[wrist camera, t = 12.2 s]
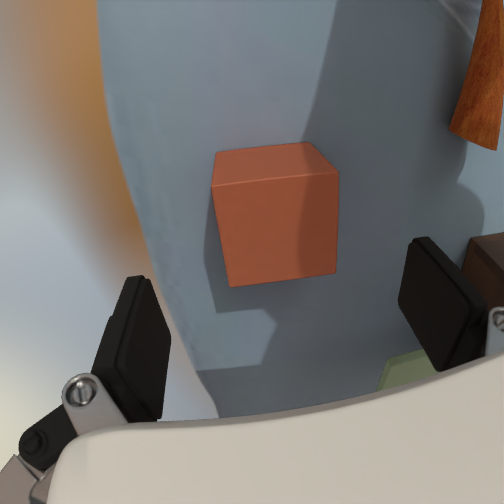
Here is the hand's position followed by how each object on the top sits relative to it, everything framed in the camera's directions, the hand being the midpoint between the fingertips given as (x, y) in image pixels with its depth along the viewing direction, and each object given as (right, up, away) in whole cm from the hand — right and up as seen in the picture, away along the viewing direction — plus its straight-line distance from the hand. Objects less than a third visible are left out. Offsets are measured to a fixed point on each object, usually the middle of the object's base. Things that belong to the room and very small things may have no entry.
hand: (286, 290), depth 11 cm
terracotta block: (0, +5, +6) cm, 8 cm away
